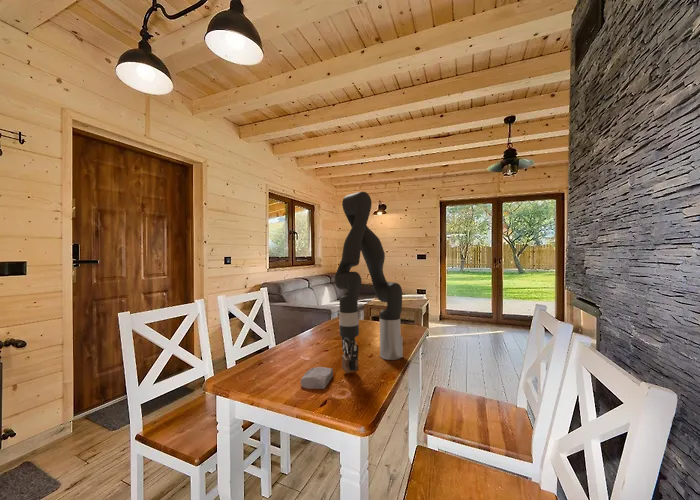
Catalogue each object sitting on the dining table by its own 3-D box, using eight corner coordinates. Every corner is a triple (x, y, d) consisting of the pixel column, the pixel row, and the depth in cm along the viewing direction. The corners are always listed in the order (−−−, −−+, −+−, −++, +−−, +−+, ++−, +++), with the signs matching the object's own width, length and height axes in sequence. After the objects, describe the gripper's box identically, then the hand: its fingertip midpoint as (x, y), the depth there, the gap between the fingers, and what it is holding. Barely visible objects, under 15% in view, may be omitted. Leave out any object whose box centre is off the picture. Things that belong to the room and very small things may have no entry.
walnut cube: (354, 366, 114) (353, 353, 114) (358, 370, 109) (358, 357, 109) (342, 368, 112) (341, 355, 112) (346, 373, 107) (345, 359, 107)
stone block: (299, 393, 99) (326, 390, 97) (296, 379, 100) (323, 375, 98) (311, 379, 111) (335, 376, 109) (308, 367, 111) (333, 363, 109)
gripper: (364, 326, 105) (366, 372, 105) (352, 318, 119) (353, 359, 119) (345, 328, 103) (346, 376, 103) (334, 319, 116) (335, 361, 116)
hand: (350, 366), depth 111 cm, fingers closed on walnut cube, 5 cm apart
